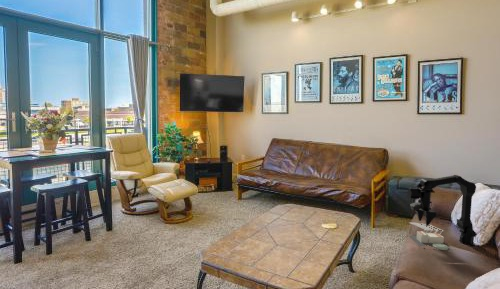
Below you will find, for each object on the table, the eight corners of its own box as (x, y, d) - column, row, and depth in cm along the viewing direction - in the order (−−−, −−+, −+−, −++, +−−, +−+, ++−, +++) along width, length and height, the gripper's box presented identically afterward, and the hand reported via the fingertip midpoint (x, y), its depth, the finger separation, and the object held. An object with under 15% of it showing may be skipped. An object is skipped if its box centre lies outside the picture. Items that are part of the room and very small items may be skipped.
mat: (433, 237, 212) (434, 236, 211) (452, 251, 191) (452, 249, 191) (407, 236, 212) (407, 234, 212) (423, 250, 191) (423, 248, 191)
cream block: (422, 239, 207) (423, 231, 206) (427, 242, 201) (428, 234, 200) (416, 238, 207) (417, 231, 207) (420, 242, 201) (421, 234, 201)
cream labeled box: (438, 239, 206) (438, 233, 206) (443, 243, 201) (443, 237, 200) (423, 239, 207) (424, 232, 206) (428, 242, 201) (429, 236, 200)
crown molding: (409, 221, 239) (438, 224, 235) (409, 223, 239) (438, 226, 235) (419, 233, 216) (452, 236, 212) (419, 235, 216) (452, 238, 212)
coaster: (443, 244, 199) (443, 243, 199) (451, 250, 190) (451, 249, 190) (429, 244, 199) (429, 242, 199) (437, 249, 191) (437, 248, 191)
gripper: (405, 194, 211) (404, 217, 212) (419, 202, 192) (417, 228, 194) (423, 195, 210) (421, 218, 212) (438, 203, 192) (436, 228, 193)
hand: (423, 223), depth 203 cm, fingers open, 9 cm apart
